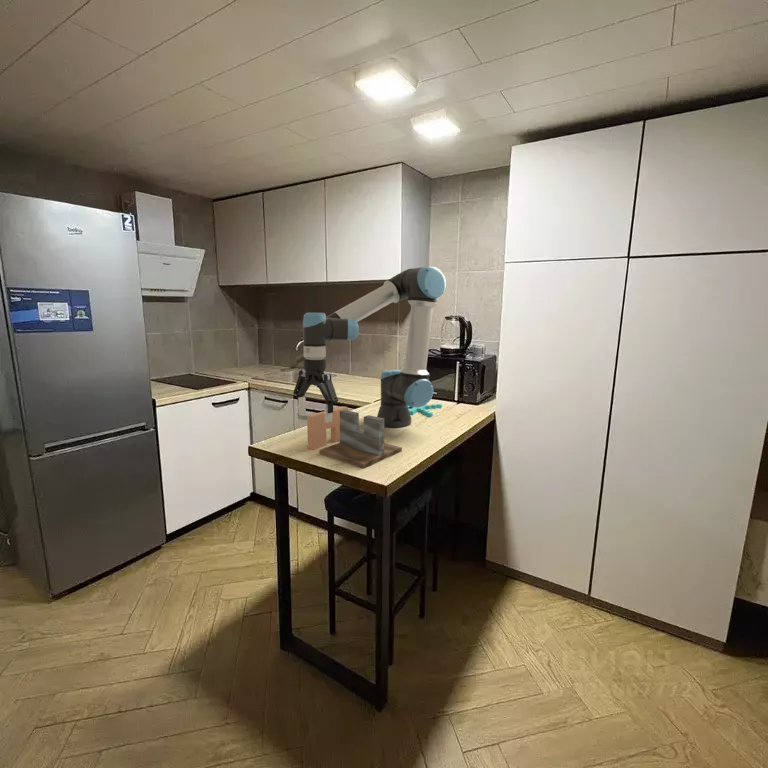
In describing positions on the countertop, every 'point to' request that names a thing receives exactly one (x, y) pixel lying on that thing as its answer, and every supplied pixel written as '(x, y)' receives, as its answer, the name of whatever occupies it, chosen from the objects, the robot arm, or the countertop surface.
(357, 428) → the slotted stand
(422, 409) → the alien figure
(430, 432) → the countertop surface
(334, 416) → the terracotta plate
